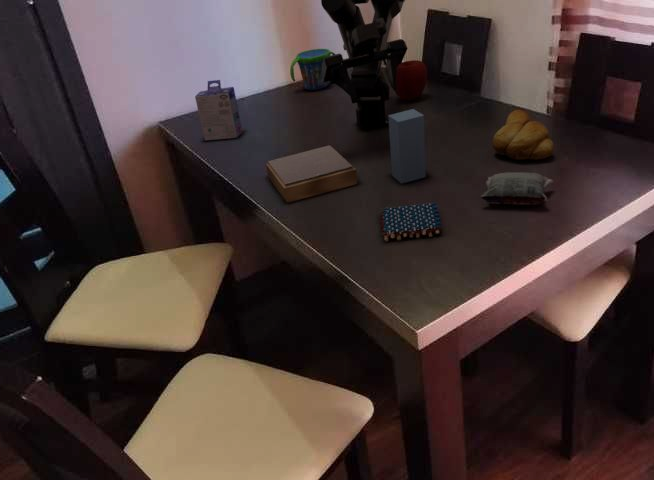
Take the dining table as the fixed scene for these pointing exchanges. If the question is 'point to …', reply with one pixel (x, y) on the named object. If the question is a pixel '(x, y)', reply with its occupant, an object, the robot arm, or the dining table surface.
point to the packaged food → (516, 188)
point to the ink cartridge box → (218, 112)
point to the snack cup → (311, 68)
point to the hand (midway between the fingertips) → (375, 94)
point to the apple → (411, 79)
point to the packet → (407, 145)
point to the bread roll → (523, 138)
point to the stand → (310, 173)
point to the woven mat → (410, 221)
